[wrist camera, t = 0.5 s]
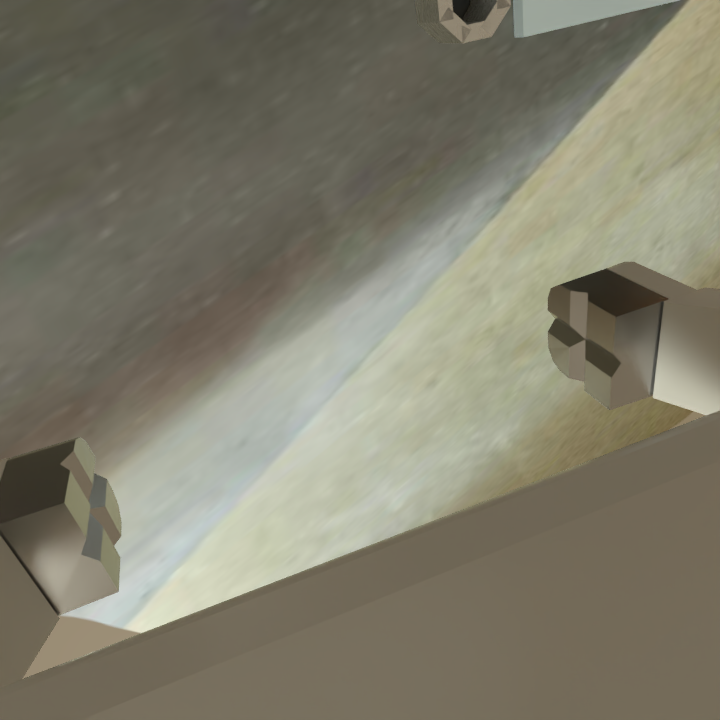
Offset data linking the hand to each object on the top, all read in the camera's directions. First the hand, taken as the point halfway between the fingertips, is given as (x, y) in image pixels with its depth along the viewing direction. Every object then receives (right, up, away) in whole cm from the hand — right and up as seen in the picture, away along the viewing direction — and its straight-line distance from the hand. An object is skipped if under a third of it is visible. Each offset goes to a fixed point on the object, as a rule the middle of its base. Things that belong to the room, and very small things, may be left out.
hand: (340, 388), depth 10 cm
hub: (+8, +31, +39) cm, 50 cm away
